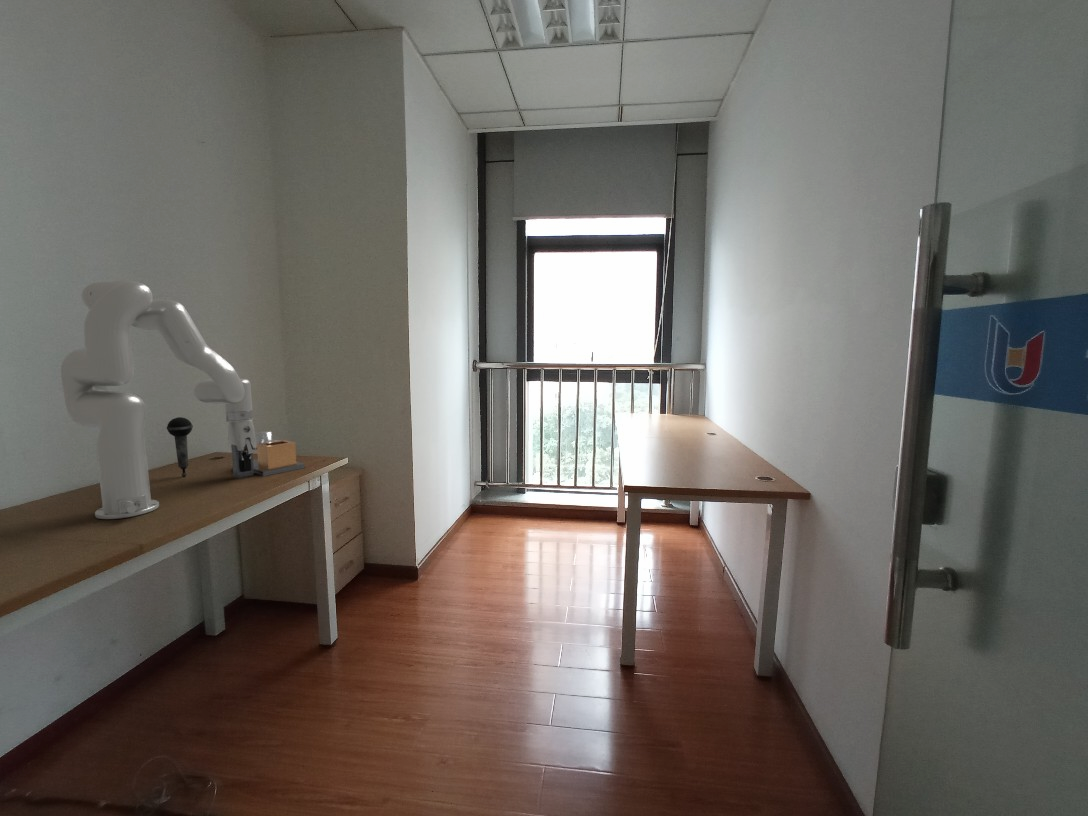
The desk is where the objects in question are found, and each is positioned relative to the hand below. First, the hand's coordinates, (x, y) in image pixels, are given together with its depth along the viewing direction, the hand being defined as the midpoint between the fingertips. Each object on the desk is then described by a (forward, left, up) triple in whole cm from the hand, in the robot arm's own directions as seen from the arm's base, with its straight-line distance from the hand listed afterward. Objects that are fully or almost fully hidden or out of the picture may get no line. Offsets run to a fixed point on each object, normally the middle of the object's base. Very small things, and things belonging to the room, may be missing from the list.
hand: (243, 469), depth 157 cm
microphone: (+15, +12, -2) cm, 19 cm away
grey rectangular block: (0, 0, -2) cm, 2 cm away
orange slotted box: (+5, -11, -2) cm, 12 cm away
